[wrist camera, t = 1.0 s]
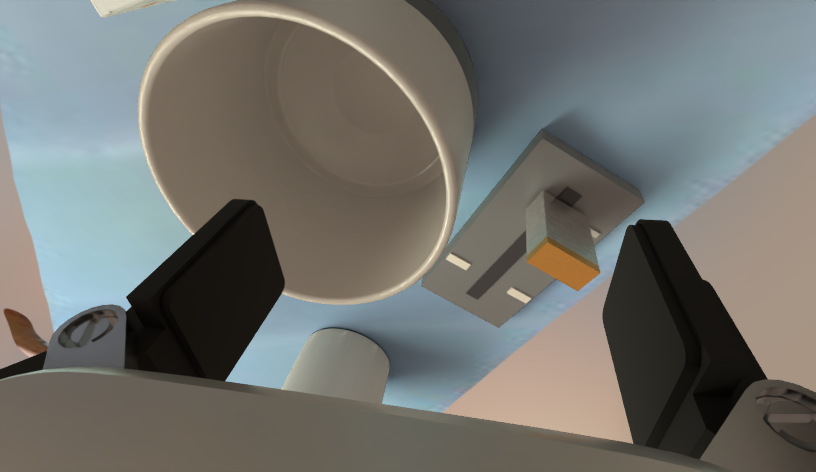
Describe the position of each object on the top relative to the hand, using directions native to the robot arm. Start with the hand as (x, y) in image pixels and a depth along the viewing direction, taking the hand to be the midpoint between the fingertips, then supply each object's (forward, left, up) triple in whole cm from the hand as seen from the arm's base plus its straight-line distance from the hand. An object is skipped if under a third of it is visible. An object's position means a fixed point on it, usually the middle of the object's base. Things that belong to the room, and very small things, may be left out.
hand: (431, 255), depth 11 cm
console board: (+5, +20, -28) cm, 35 cm away
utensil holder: (+37, +33, -29) cm, 57 cm away
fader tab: (0, +17, -26) cm, 31 cm away
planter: (+11, 0, -29) cm, 31 cm away
